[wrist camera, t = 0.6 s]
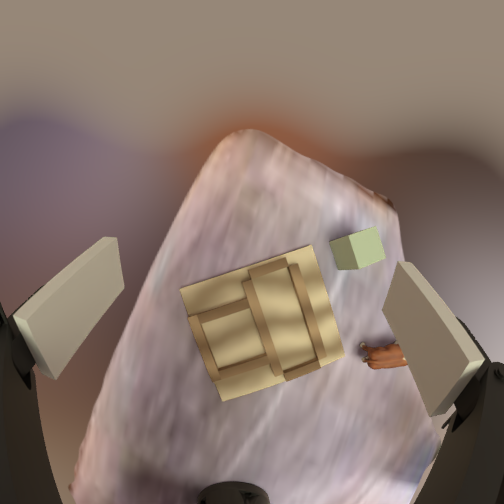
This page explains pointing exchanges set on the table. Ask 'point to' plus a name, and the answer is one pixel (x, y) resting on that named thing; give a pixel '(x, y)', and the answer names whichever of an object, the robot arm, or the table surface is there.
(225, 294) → the beech board
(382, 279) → the table surface
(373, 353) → the bull figurine
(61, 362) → the robot arm
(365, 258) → the sage-green tail block
